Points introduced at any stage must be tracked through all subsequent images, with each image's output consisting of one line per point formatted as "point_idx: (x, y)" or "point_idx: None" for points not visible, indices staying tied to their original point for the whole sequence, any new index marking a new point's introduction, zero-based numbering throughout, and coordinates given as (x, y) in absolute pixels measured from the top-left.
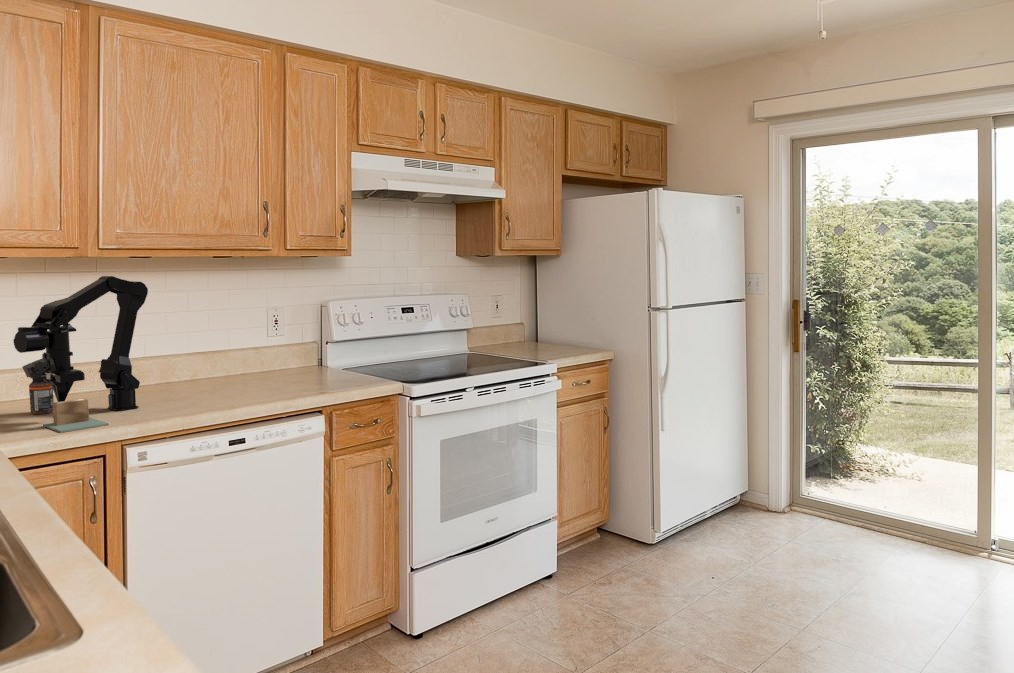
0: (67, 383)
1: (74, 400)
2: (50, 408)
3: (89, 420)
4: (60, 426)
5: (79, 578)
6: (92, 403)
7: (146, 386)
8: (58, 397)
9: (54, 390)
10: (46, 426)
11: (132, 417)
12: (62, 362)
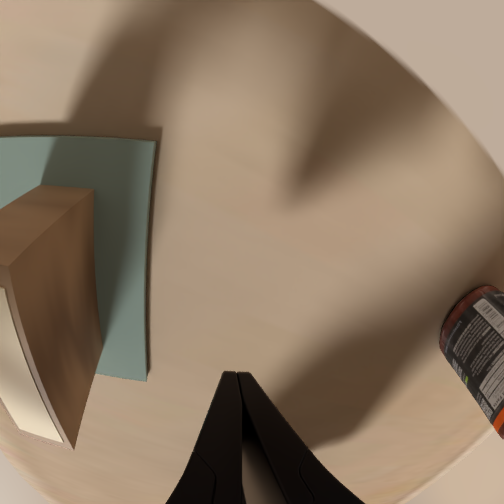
0: None
1: (22, 401)
2: (447, 348)
3: None
4: (11, 186)
5: None
6: (406, 439)
7: (407, 491)
8: (209, 412)
9: (287, 469)
10: (91, 137)
11: None
12: None
